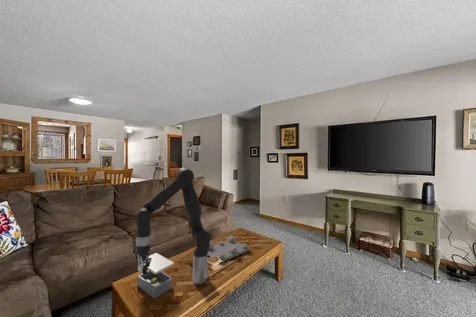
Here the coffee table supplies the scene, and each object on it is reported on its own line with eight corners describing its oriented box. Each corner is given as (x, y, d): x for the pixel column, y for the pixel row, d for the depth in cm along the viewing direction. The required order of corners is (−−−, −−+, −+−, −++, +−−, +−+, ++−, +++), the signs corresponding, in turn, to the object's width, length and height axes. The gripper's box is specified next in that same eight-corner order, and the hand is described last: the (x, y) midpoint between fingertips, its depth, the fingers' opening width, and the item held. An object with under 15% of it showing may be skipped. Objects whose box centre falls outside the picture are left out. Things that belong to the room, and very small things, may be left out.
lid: (156, 256, 135) (156, 250, 134) (174, 266, 124) (174, 259, 124) (131, 267, 121) (131, 260, 121) (148, 279, 110) (148, 272, 110)
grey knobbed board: (219, 265, 151) (219, 252, 151) (200, 252, 170) (200, 240, 170) (251, 251, 175) (251, 240, 175) (231, 241, 194) (231, 230, 194)
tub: (155, 276, 134) (155, 267, 134) (172, 287, 124) (172, 278, 124) (137, 285, 125) (137, 275, 124) (154, 298, 114) (154, 288, 114)
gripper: (156, 244, 116) (155, 273, 116) (142, 237, 124) (142, 264, 124) (143, 249, 109) (143, 280, 110) (130, 241, 118) (129, 270, 118)
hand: (142, 272), depth 117 cm, fingers closed on lid, 3 cm apart
